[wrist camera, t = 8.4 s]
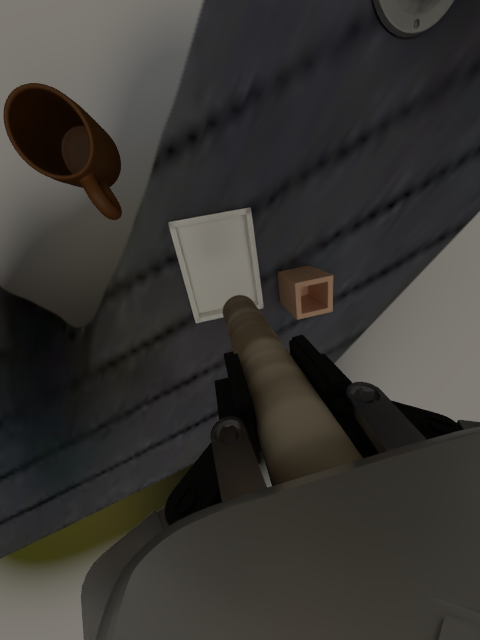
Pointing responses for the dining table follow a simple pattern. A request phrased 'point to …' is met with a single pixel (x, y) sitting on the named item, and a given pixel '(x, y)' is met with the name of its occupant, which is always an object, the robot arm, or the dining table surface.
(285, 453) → the beech dowel
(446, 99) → the dining table surface
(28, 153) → the mug
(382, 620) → the robot arm
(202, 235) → the plastic tray
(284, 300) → the terracotta cup
